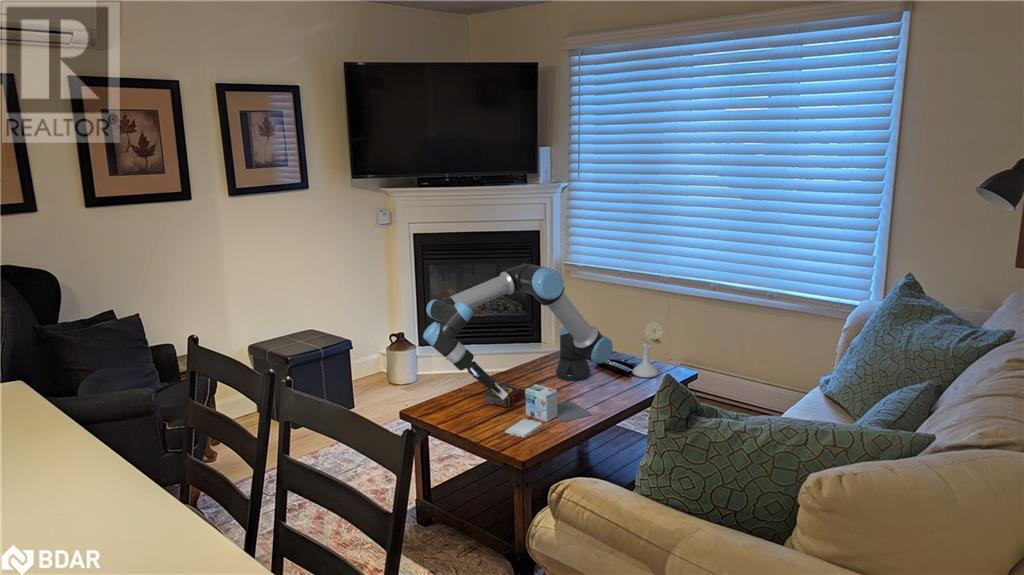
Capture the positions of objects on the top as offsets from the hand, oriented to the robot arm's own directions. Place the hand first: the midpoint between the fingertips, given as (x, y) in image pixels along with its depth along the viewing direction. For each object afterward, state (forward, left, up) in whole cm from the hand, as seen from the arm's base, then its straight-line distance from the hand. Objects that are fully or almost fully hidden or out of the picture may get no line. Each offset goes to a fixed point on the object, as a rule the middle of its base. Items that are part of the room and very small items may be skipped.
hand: (505, 396), depth 258 cm
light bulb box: (-14, +3, -10) cm, 17 cm away
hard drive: (-2, +10, -10) cm, 15 cm away
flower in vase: (-78, -12, -10) cm, 79 cm away
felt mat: (-25, +4, -10) cm, 27 cm away
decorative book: (-10, -18, -10) cm, 23 cm away
